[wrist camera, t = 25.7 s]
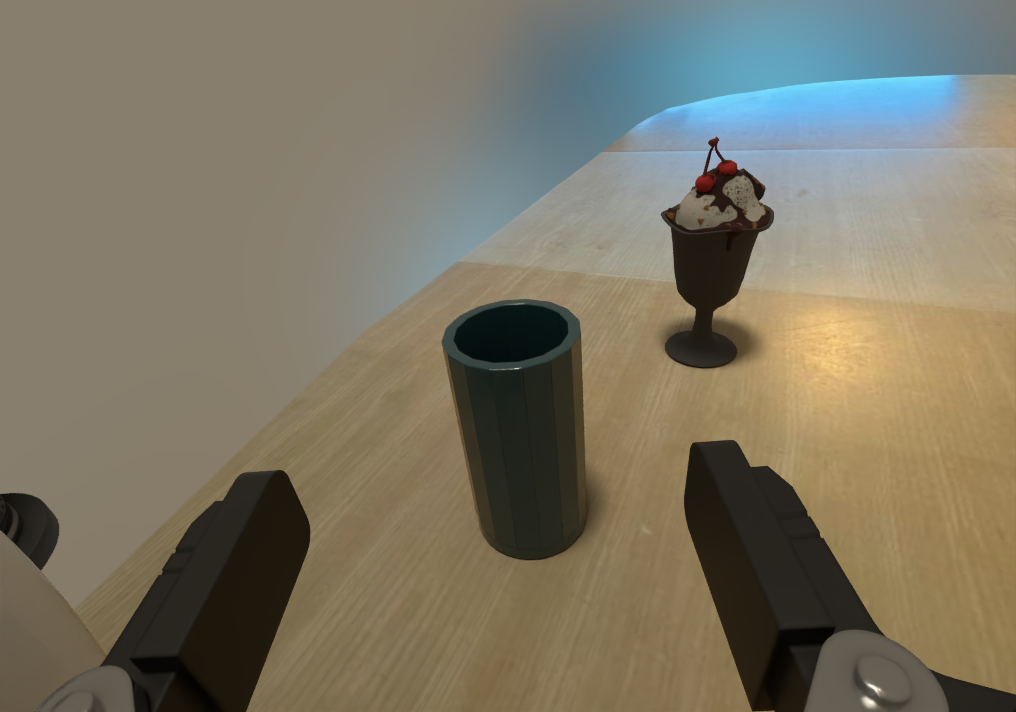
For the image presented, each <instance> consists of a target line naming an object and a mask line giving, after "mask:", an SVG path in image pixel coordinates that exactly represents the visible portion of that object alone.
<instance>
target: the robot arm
mask: <svg viewBox="0 0 1016 712" xmlns="http://www.w3.org/2000/svg"><path fill="white" fill-rule="evenodd" d="M684 508H685V516H686V521H687V525H688V529H689V532H690V535H691V538H692V540H693V543H694V546H695V549H696V552H697V555H698V558H699V560H700V563H701V566H702V569H703V572H704V575H705V578H706V580H707V583H708V586H709V589H710V592H711V595H712V598H713V600H714V603H715V606H716V609H717V612H718V615H719V618H720V621H721V623H722V626H723V629H724V632H725V635H726V638H727V641H728V643H729V646H730V649H731V652H732V655H733V658H734V661H735V663H736V666H737V669H738V672H739V675H740V678H741V681H742V683H743V686H744V689H745V692H746V695H747V698H748V701H749V703H750V706H751V709H752V711H775V712H1016V695H1015V694H1011V693H1007V692H1004V691H1000V690H996V689H992V688H988V687H985V686H981V685H977V684H973V683H969V682H966V681H962V680H958V679H954V678H951V677H948V676H945V675H942V674H940V673H937V672H935V671H933V670H931V669H929V668H927V667H926V666H925V665H924V664H923V662H922V661H921V660H920V659H918V658H917V657H916V656H915V655H914V654H913V653H911V652H910V651H909V650H907V649H906V648H904V647H903V646H901V645H900V644H898V643H896V642H895V641H893V640H891V639H889V638H887V637H885V635H884V634H883V633H882V632H881V631H880V630H879V628H878V627H877V625H876V624H875V623H874V621H873V620H872V618H871V616H870V615H869V613H868V611H867V610H866V608H865V606H864V605H863V603H862V601H861V600H860V598H859V596H858V595H857V593H856V591H855V590H854V588H853V587H852V585H851V583H850V582H849V580H848V578H847V577H846V575H845V573H844V572H843V570H842V568H841V567H840V565H839V563H838V562H837V560H836V558H835V557H834V555H833V553H832V552H831V550H830V548H829V547H828V545H827V543H826V542H825V540H824V538H821V537H820V532H819V530H818V529H817V527H816V525H815V524H814V522H813V520H812V519H811V517H808V515H807V510H806V509H805V507H804V505H803V504H802V502H801V500H800V499H799V497H798V495H797V494H796V492H795V490H794V489H793V487H792V486H791V485H790V484H789V483H787V482H786V481H785V480H784V479H783V478H781V477H780V476H779V475H778V474H777V473H775V472H774V471H773V470H772V469H771V468H769V467H768V466H760V467H750V465H749V463H748V461H747V459H746V458H745V456H744V454H743V452H742V450H741V448H740V446H739V445H738V444H737V442H736V441H734V440H724V441H710V442H696V443H692V445H691V448H690V454H689V462H688V470H687V478H686V486H685V495H684ZM0 530H1V531H2V532H3V533H4V534H5V535H6V536H7V537H8V538H9V539H10V540H11V541H12V542H13V543H14V544H16V542H17V541H18V538H19V536H20V534H21V531H22V518H21V516H20V515H19V513H18V512H17V511H16V510H15V509H14V508H13V507H12V506H11V505H10V504H9V503H7V502H5V501H4V499H3V498H2V497H1V495H0ZM309 543H310V525H309V521H308V518H307V516H306V514H305V511H304V509H303V507H302V505H301V503H300V501H299V498H298V496H297V494H296V492H295V490H294V488H293V485H292V483H291V481H290V479H289V477H288V475H287V474H286V473H285V472H284V471H282V470H275V471H261V472H246V473H242V474H241V475H239V476H238V477H237V479H236V480H235V482H234V483H233V485H232V486H231V488H230V490H229V491H228V493H227V495H226V496H225V498H224V500H223V501H215V502H214V503H213V504H212V505H211V506H210V507H209V508H208V509H206V510H205V511H204V512H203V513H202V514H201V515H200V516H199V517H198V518H197V519H196V520H195V521H194V522H193V523H191V525H190V527H189V528H188V530H187V531H186V533H185V534H184V536H183V538H182V539H181V541H180V542H179V544H178V545H177V547H176V552H175V553H174V554H172V555H171V556H170V558H169V560H168V561H167V563H166V564H165V566H164V567H163V569H162V570H163V573H162V575H158V577H157V578H156V580H155V582H154V583H153V585H152V586H151V588H150V589H149V591H148V593H147V594H146V596H145V597H144V599H143V600H142V602H141V604H140V605H139V607H138V608H137V610H136V611H135V613H134V615H133V616H132V618H131V619H130V621H129V622H128V624H127V626H126V627H125V629H124V630H123V632H122V633H121V635H120V637H119V638H118V640H117V641H116V643H115V644H114V646H113V648H112V649H111V651H110V652H109V654H108V655H107V657H106V658H105V660H104V661H103V662H102V664H101V665H100V666H99V667H96V668H93V669H90V670H87V671H85V672H83V673H81V674H79V675H77V676H75V677H73V678H72V679H70V680H69V681H67V682H65V683H64V684H63V685H61V686H60V687H59V688H58V689H56V690H55V691H54V692H53V693H52V694H51V695H49V696H48V697H47V698H46V699H45V700H44V701H43V702H42V703H41V704H40V706H39V707H38V708H37V709H36V710H35V712H246V710H247V708H248V705H249V703H250V700H251V697H252V695H253V692H254V690H255V687H256V684H257V682H258V679H259V676H260V674H261V671H262V669H263V666H264V663H265V661H266V658H267V656H268V653H269V650H270V648H271V645H272V643H273V640H274V637H275V635H276V632H277V630H278V627H279V624H280V622H281V619H282V617H283V614H284V611H285V609H286V606H287V604H288V601H289V598H290V596H291V593H292V590H293V588H294V585H295V583H296V580H297V577H298V575H299V572H300V570H301V567H302V564H303V562H304V559H305V557H306V554H307V551H308V548H309Z"/></svg>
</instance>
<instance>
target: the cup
mask: <svg viewBox="0 0 1016 712" xmlns="http://www.w3.org/2000/svg"><path fill="white" fill-rule="evenodd" d="M442 347H443V352H444V357H445V362H446V367H447V372H448V377H449V382H450V387H451V391H452V396H453V401H454V406H455V411H456V416H457V421H458V426H459V431H460V436H461V441H462V446H463V451H464V456H465V460H466V465H467V470H468V475H469V480H470V485H471V490H472V495H473V500H474V505H475V510H476V514H477V516H478V521H479V525H480V529H481V531H482V534H483V536H484V537H485V539H486V540H487V541H488V542H489V543H490V544H491V545H492V546H493V547H494V548H495V549H497V550H498V551H500V552H502V553H504V554H506V555H508V556H511V557H515V558H520V559H540V558H546V557H549V556H552V555H555V554H557V553H559V552H561V551H563V550H565V549H566V548H568V547H569V546H570V545H571V544H572V543H573V542H574V541H575V540H576V539H577V538H578V537H579V535H580V534H581V532H582V530H583V528H584V525H585V522H586V509H587V503H586V472H585V442H584V412H583V381H582V351H581V330H580V321H579V320H578V318H576V317H575V316H574V315H573V314H572V313H571V312H570V311H569V310H568V309H567V308H564V307H562V306H559V305H557V304H554V303H551V302H547V301H539V300H530V299H518V300H503V301H499V302H495V303H491V304H487V305H483V306H480V307H477V308H475V309H473V310H470V311H468V312H466V313H464V314H462V315H460V316H459V317H458V318H457V319H455V320H454V321H453V322H452V323H451V324H450V325H449V326H448V327H447V328H446V330H445V333H444V336H443V339H442Z"/></svg>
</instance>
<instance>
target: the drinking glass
mask: <svg viewBox="0 0 1016 712" xmlns="http://www.w3.org/2000/svg"><path fill="white" fill-rule="evenodd" d="M106 657H107V655H106V654H105V653H104V651H103V650H102V648H101V647H100V645H99V644H98V643H97V641H96V640H95V638H94V637H93V636H92V634H91V633H90V632H89V630H88V629H87V627H86V626H85V625H84V623H83V622H82V621H81V619H80V618H79V617H78V615H77V614H76V613H75V611H74V610H73V609H72V608H71V606H70V605H69V604H68V602H67V601H66V600H65V599H64V597H63V596H62V595H61V594H60V593H59V591H58V590H57V589H56V588H55V587H54V586H53V584H52V583H51V582H50V581H49V580H48V579H47V577H46V576H45V575H44V574H43V573H42V572H41V571H40V570H39V569H38V568H37V566H36V565H35V564H34V563H33V562H32V561H31V560H30V559H29V558H28V557H27V556H26V555H25V554H24V553H23V552H22V551H21V550H20V549H19V548H18V547H17V546H16V545H15V544H14V543H13V542H12V541H11V540H10V539H9V538H8V537H7V536H6V535H5V534H4V533H3V532H2V531H1V530H0V712H35V710H36V709H37V708H38V707H39V706H40V704H41V703H42V702H43V701H44V700H45V699H46V698H47V697H48V696H49V695H51V694H52V693H53V692H54V691H55V690H56V689H58V688H59V687H60V686H61V685H63V684H64V683H65V682H67V681H69V680H70V679H72V678H73V677H75V676H77V675H79V674H81V673H83V672H85V671H87V670H90V669H93V668H96V667H99V666H100V665H101V664H102V662H103V661H104V660H105V658H106Z"/></svg>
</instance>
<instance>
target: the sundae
mask: <svg viewBox="0 0 1016 712" xmlns="http://www.w3.org/2000/svg"><path fill="white" fill-rule="evenodd" d="M718 141H719V139H718V138H717V137H716V138H715V139H712V140H710V141H709V142H708V144H709V145H710V146H711V149H710V151H709V154H708V157H707V161H706V165H705V169H704V172H703V175H701V176H699V177H698V178H697V180H696V183H695V186H694V187H692V189H691V192H690V193H689V194H688V195H687V196H686V197H685V198H684V199H683V200H682V202H681V203H680V204H678V205H676V206H674V207H673V208H669V209H668V210H666V211H664V212H662V213H661V216H662V218H663V220H664V221H665V222H666V223H667V224H668V225H669V226H670V227H671V233H672V242H673V256H674V271H675V278H676V284H677V290H678V292H679V294H680V295H681V296H682V297H683V298H684V299H685V301H686V302H688V303H689V304H690V305H692V306H693V307H695V309H696V316H695V322H694V326H693V329H692V331H684V332H680V333H677V334H674V335H673V336H671V337H670V338H669V339H668V340H667V342H666V345H665V348H666V351H667V353H668V354H669V355H670V356H671V357H672V358H673V359H675V360H676V361H678V362H680V363H683V364H686V365H689V366H695V367H717V366H720V365H723V364H726V363H728V362H730V361H731V360H732V359H733V358H734V357H735V356H736V353H737V349H736V347H735V345H734V344H733V342H732V341H731V340H729V339H728V338H727V337H725V336H723V335H721V334H718V333H715V332H712V317H713V311H715V310H716V309H717V308H718V307H721V306H723V305H725V304H726V303H727V302H729V301H730V300H731V299H733V298H734V297H735V296H736V295H737V293H738V291H739V288H740V286H741V284H742V281H743V279H744V275H745V272H746V269H747V265H748V262H749V259H750V255H751V252H752V249H753V246H754V244H755V241H756V238H757V236H758V233H759V232H761V231H764V230H766V229H768V228H769V227H770V226H771V224H772V223H773V220H774V212H773V210H772V209H771V208H769V207H768V206H766V205H763V204H762V203H760V202H759V200H760V199H761V198H762V197H763V195H764V192H765V189H766V188H765V186H764V185H763V184H761V183H760V182H759V181H758V180H757V179H756V178H755V177H754V176H752V175H751V174H750V173H748V172H747V171H746V170H745V169H741V170H738V169H737V164H736V163H735V162H733V161H732V160H725V159H724V158H723V157H722V156H721V154H720V153H719V151H718V150H717V143H718ZM714 146H715V151H716V153H717V155H718V156H719V158H720V159H721V160H722V162H721V163H719V164H718V166H717V167H716V168H715V169H712V170H710V171H708V172H707V169H708V165H709V161H710V157H711V152H712V150H713V148H714Z"/></svg>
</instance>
